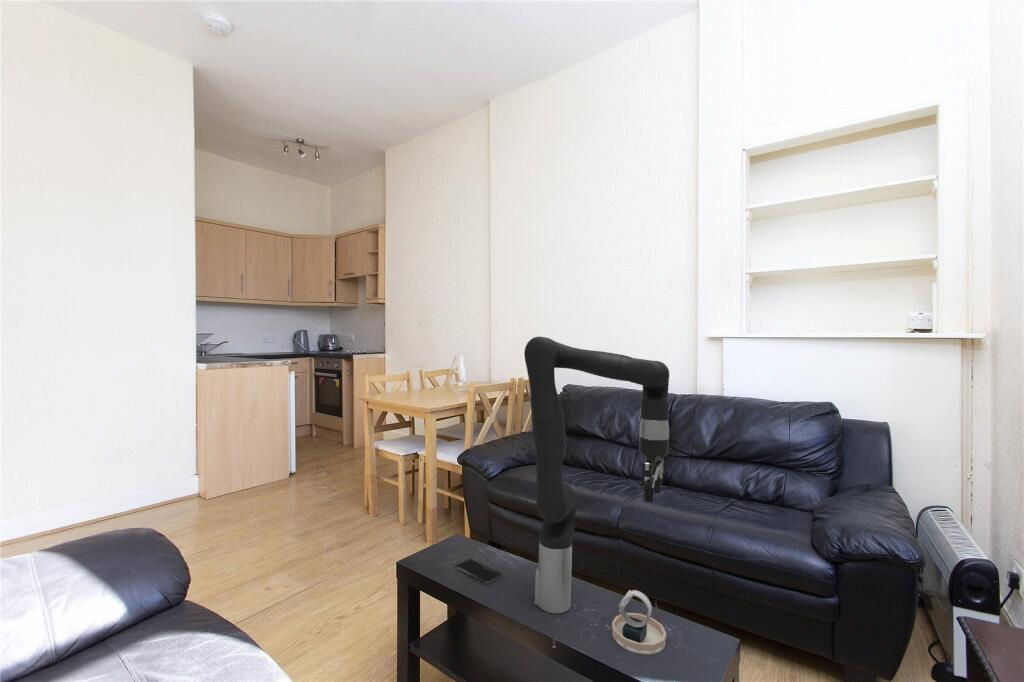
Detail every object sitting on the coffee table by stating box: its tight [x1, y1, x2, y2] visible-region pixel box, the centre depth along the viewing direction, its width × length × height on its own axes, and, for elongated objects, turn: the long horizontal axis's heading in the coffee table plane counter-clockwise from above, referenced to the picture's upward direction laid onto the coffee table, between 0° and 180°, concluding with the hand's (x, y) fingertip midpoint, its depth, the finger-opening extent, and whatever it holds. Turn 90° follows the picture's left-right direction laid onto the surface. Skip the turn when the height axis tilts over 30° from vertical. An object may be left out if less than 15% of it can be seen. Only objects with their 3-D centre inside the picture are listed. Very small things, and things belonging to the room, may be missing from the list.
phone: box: [454, 558, 503, 585], centre depth 142 cm, size 8×1×15 cm
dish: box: [611, 612, 667, 656], centre depth 112 cm, size 13×13×2 cm
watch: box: [617, 589, 653, 643], centre depth 111 cm, size 6×8×11 cm
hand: (652, 497), depth 119 cm, fingers open, 8 cm apart
